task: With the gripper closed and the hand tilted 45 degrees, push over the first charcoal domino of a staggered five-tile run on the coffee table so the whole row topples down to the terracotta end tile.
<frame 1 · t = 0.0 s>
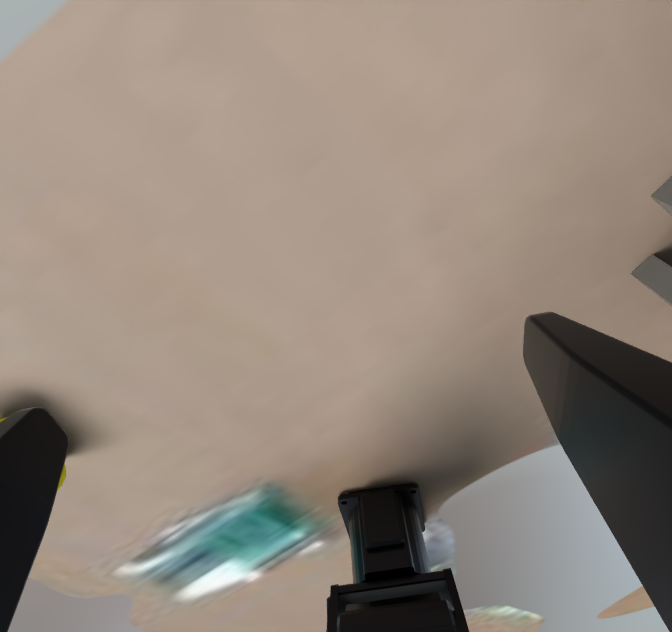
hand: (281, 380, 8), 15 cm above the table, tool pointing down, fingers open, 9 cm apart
domino 1: (671, 289, 25), on the table
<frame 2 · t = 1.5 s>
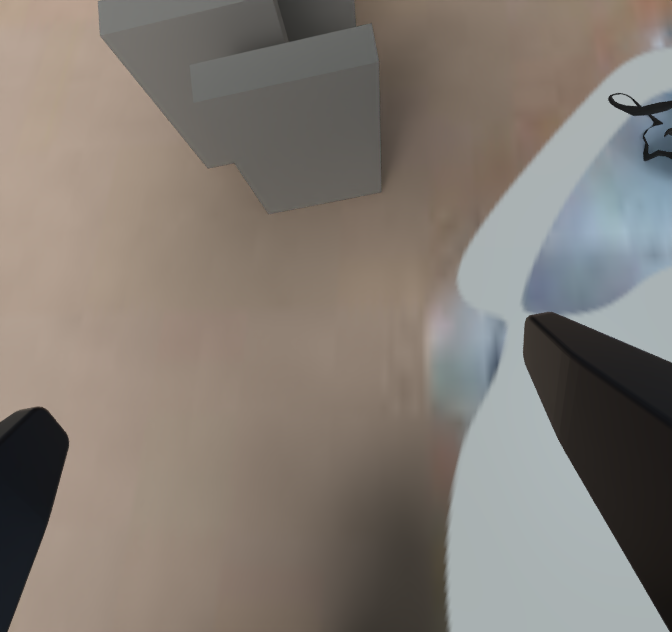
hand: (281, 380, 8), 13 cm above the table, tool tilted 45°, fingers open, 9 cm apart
domino 2: (259, 145, 23), on the table
domino 3: (304, 81, 24), on the table
domino 1: (322, 191, 22), on the table
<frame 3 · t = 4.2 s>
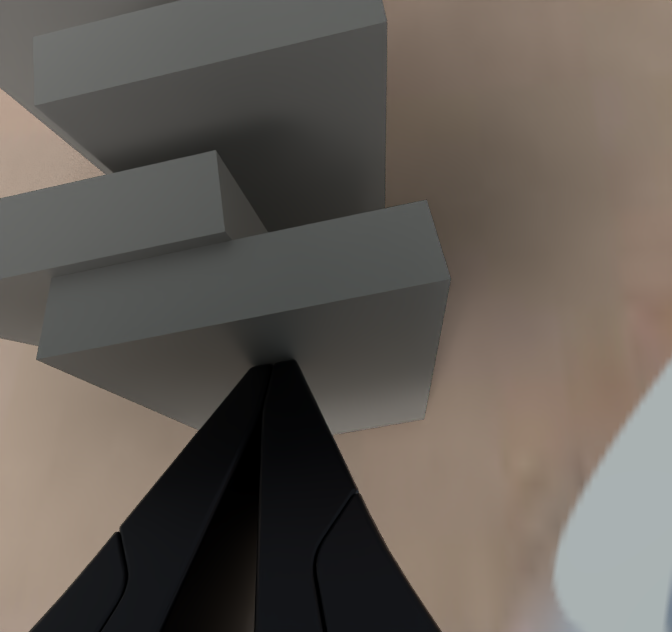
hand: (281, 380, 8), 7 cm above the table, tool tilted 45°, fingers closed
domino 2: (234, 336, 15), on the table
domino 4: (214, 173, 17), on the table
domino 3: (301, 235, 16), on the table
domino 1: (330, 413, 14), on the table, tilted 14°
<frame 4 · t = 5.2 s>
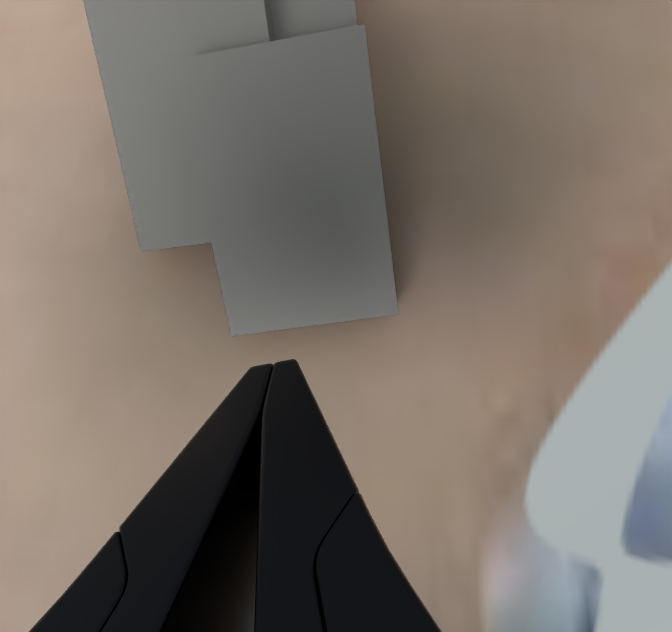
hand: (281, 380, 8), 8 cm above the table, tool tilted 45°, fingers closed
domino 2: (223, 240, 17), point 1 cm above the table, tilted 66°, touching domino 1, domino 3
domino 3: (293, 152, 17), point 1 cm above the table, tilted 66°, touching domino 2, domino 4
domino 1: (315, 320, 16), point 1 cm above the table, tilted 66°, touching domino 2
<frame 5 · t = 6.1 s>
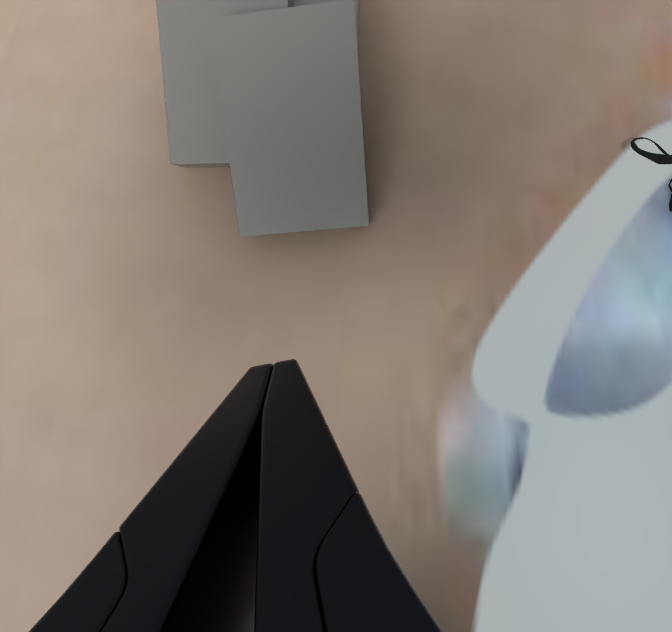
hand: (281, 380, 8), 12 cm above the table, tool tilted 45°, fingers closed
domino 2: (235, 164, 21), point 1 cm above the table, tilted 66°, touching domino 1, domino 3
domino 3: (298, 99, 21), point 1 cm above the table, tilted 66°, touching domino 2, domino 4
domino 1: (305, 230, 20), point 1 cm above the table, tilted 66°, touching domino 2
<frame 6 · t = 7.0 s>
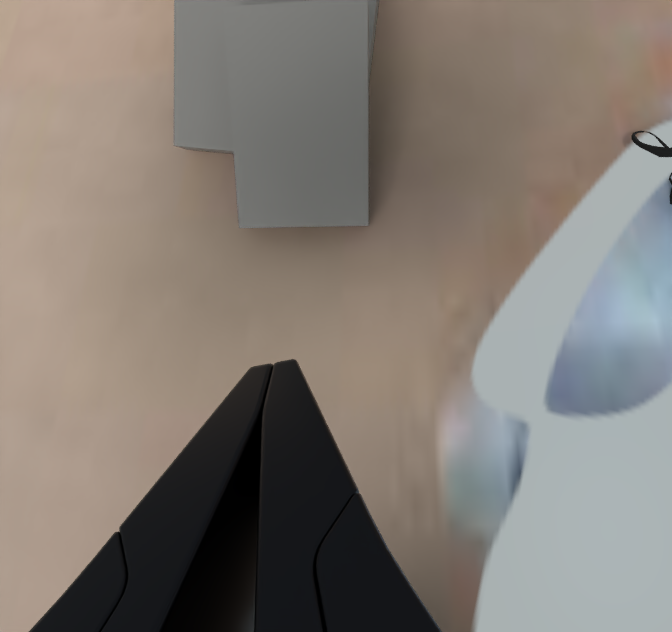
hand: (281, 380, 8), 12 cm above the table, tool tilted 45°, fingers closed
domino 2: (237, 153, 21), point 1 cm above the table, tilted 65°, touching domino 3
domino 3: (306, 91, 21), point 1 cm above the table, tilted 65°, touching domino 2
domino 1: (305, 226, 20), point 1 cm above the table, tilted 65°
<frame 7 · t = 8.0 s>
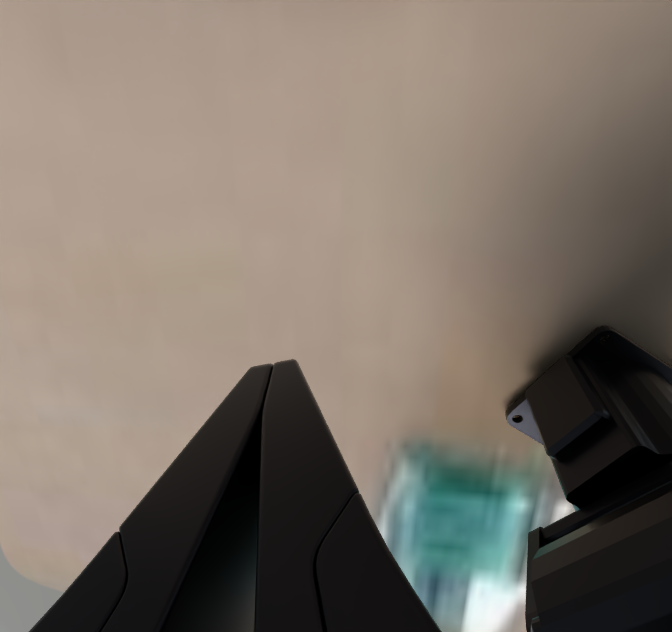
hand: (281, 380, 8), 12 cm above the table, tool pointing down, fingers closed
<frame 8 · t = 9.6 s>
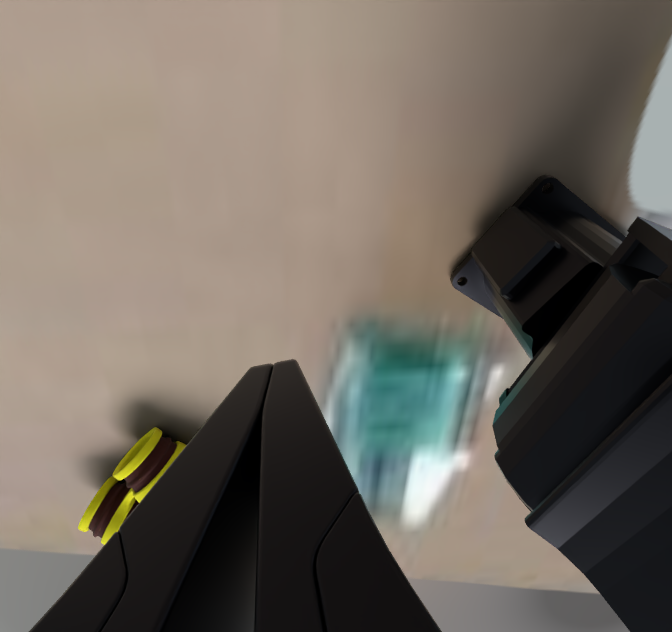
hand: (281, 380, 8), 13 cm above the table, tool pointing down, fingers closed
opera glasses: (157, 464, 29), on the table
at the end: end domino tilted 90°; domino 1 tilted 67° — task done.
